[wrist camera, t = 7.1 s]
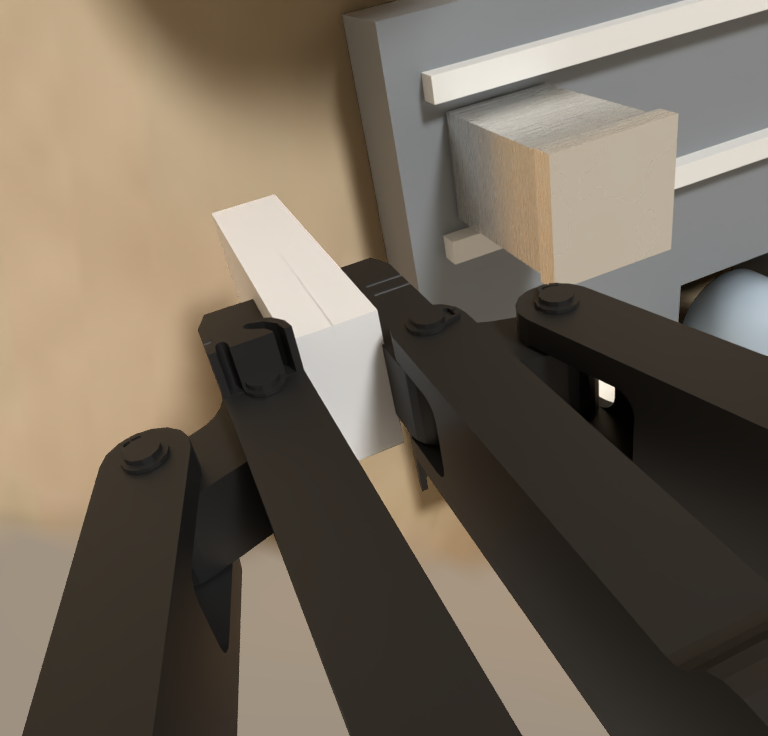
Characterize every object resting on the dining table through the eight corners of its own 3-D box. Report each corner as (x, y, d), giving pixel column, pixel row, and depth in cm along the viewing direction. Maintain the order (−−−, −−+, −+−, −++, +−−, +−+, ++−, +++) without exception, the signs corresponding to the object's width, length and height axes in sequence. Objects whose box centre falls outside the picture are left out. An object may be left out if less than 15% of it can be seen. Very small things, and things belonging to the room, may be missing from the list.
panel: (342, 14, 19) (384, 24, 17) (997, -149, 25) (1103, -160, 22) (424, 460, 28) (460, 510, 26) (894, 270, 33) (961, 296, 31)
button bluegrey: (683, 288, 26) (755, 328, 23) (772, 254, 27) (852, 288, 24) (677, 379, 28) (742, 424, 25) (760, 344, 29) (831, 385, 26)
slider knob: (442, 109, 19) (549, 154, 15) (548, 78, 20) (678, 113, 15) (456, 222, 21) (555, 291, 17) (553, 191, 21) (671, 249, 17)
